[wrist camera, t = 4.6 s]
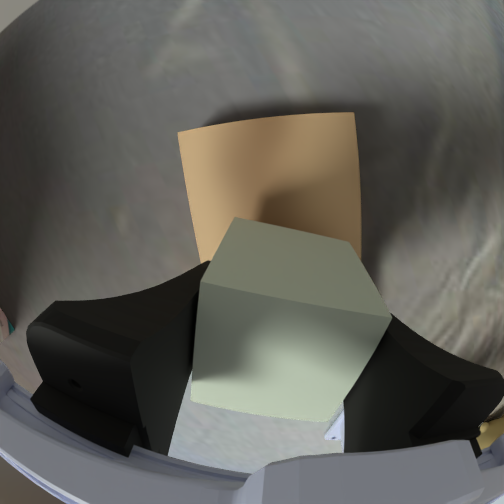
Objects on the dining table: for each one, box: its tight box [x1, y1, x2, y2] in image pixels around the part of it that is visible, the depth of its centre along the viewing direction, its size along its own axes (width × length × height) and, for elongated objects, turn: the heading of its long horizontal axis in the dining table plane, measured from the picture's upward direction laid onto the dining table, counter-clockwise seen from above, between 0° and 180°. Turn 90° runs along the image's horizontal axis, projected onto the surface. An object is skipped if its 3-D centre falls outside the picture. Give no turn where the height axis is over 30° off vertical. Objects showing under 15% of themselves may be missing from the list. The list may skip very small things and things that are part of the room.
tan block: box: [178, 112, 361, 264], centre depth 15 cm, size 8×14×3 cm, turn 7°
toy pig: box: [476, 414, 504, 450], centre depth 20 cm, size 10×12×11 cm
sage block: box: [191, 217, 392, 422], centre depth 10 cm, size 5×5×6 cm
